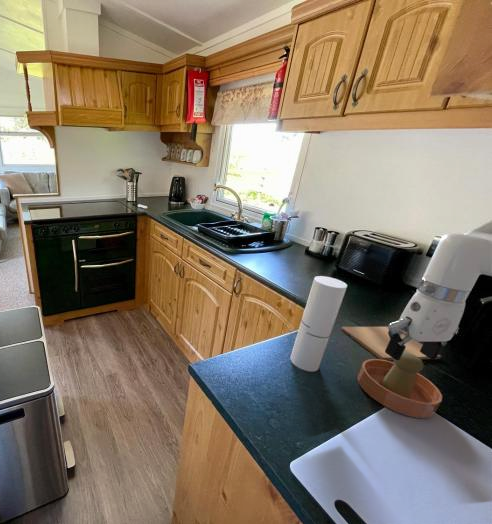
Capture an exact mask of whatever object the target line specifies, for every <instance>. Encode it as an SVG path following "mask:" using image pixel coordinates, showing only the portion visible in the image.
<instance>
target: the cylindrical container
mask: <svg viewBox="0 0 492 524" xmlns="http://www.w3.org/2000/svg"><path fill="white" fill-rule="evenodd" d="M311 284H312V285H311V287H310V292H309V295H308V297H307V301H306V304H305V307H304V311H303V314H302V317H301V320H300V324H299V327H298V330H297V333H296V337H295V340H294V343H293V347H292V351H291V354H290V357H289V361H290V362H291V363H292V364H293V365H294V366H295V367H297V368H298V369H300V370H303V371H306V372H317V371H318V370H319V368H320V366H321V362H322V360H323V357H324V354H325V351H326V348H327V345H328V342H329V340H330V337H331V333H332V331H333V328H334V325H335V322H336V320H337V318H338V314H339V311H340V308H341V305H342V303H343V299H344V297H345V294H346V291H347V288H348V284H347V283H346V282H344V281H342V280H340V279H338V278H334V277H331V276H326V275H325V276H324V275H317V276H314V277H313V280H312V283H311Z"/></svg>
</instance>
